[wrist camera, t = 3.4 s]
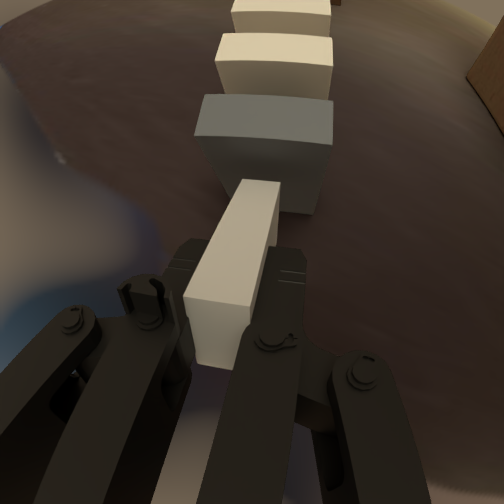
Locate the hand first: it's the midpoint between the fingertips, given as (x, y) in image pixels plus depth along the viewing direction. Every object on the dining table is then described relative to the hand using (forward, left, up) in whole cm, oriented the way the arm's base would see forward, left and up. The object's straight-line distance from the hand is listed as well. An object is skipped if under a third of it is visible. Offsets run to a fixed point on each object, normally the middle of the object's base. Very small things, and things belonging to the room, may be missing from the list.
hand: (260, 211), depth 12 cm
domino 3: (-4, -10, -7) cm, 13 cm away
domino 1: (-1, -3, -7) cm, 7 cm away
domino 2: (-2, -7, -7) cm, 10 cm away
